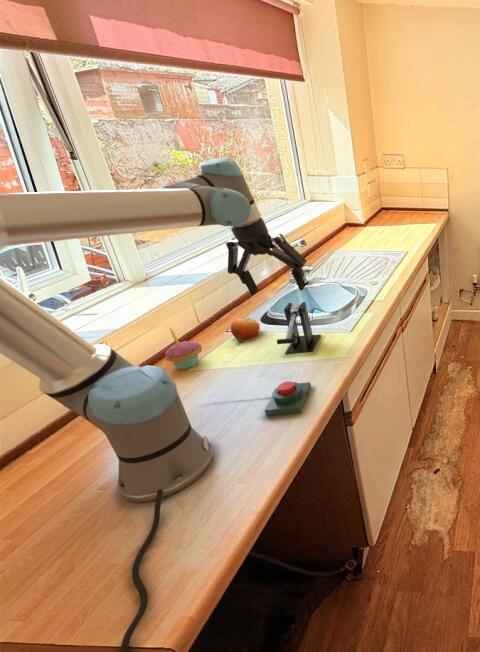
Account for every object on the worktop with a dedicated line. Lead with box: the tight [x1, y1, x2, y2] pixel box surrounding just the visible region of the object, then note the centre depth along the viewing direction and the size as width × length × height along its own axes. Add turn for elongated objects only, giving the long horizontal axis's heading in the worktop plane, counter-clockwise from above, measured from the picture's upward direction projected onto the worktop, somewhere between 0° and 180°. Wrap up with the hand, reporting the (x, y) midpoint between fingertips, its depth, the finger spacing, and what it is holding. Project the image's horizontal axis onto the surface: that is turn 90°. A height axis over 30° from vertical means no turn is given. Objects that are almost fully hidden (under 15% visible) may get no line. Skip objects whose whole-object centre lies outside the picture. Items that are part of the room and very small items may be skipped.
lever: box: [276, 304, 301, 345], centre depth 120 cm, size 14×5×2 cm, turn 11°
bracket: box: [283, 301, 322, 355], centre depth 126 cm, size 10×8×15 cm
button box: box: [264, 381, 312, 418], centre depth 104 cm, size 10×8×4 cm
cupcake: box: [164, 327, 203, 370], centre depth 117 cm, size 9×8×12 cm
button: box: [277, 380, 295, 395], centre depth 103 cm, size 4×4×2 cm
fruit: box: [230, 317, 261, 344], centre depth 132 cm, size 8×8×8 cm
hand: (279, 289), depth 113 cm, fingers open, 13 cm apart
